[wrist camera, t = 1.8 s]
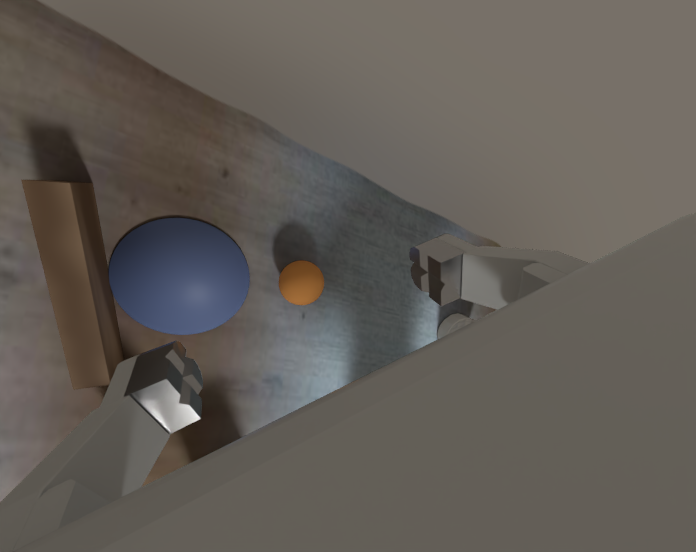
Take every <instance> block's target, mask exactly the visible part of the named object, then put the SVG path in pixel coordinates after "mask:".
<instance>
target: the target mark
mask: <svg viewBox="0 0 696 552" xmlns="http://www.w3.org/2000/svg"><path fill="white" fill-rule="evenodd" d="M109 283H110V286H111V290H112V292H113V295H114V297H115V299H116V300H117V302H118V304H119V305H120V306H121V307H122V309H123V310H124V311H125V312H126V313H127V314H128V315H129V316H130V317H132V318H133V319H134V320H136V321H137V322H139V323H141V324H142V325H144V326H146V327H148V328H151V329H153V330H156V331H160V332H163V333H169V334H178V335H186V334H196V333H201V332H205V331H208V330H211V329H214V328H216V327H218V326H220V325H222V324H223V323H225V322H226V321H228V320H229V319H230V318H231V317H232V316H233V315H234V314H235V313H236V312H237V311H238V310H239V309H240V307H241V306H242V304H243V302H244V300H245V298H246V295H247V293H248V288H249V269H248V265H247V262H246V260H245V257H244V255H243V253H242V252H241V250H240V249H239V247H238V246H237V245H236V243H235V242H234V241H233V240H232V239H231V238H230V237H228V236H227V235H226V234H225V233H223V232H222V231H220V230H219V229H217V228H215V227H213V226H211V225H209V224H207V223H204V222H201V221H197V220H192V219H186V218H166V219H159V220H156V221H152V222H149V223H147V224H144V225H142V226H140V227H138V228H136V229H135V230H133V231H132V232H130V233H129V234H128V235H127V236H125V237H124V239H123V240H122V241H121V242H120V243H119V244H118V246H117V247H116V249H115V251H114V253H113V255H112V257H111V261H110V265H109Z"/></svg>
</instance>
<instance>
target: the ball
mask: <svg viewBox="0 0 696 552" xmlns="http://www.w3.org/2000/svg"><path fill="white" fill-rule="evenodd" d="M279 288H280V291H281V293H282V295H283V297H284V298H285V299H286V300H288V301H289V302H291V303H293V304H296V305H307V304H310V303H312V302H314V301H315V300H316V299H318V297H319V296H320V295H321V293H322V291H323V288H324V277H323V274H322V272H321V271H320V269H319V268H318V267H317V266H316V265H315V264H313V263H311V262H309V261H304V260H299V261H294V262H292V263H290V264H288V265H287V266H286V267H285V268H284V269H283V271H282V272H281V274H280V277H279Z"/></svg>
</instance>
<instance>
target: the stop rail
mask: <svg viewBox="0 0 696 552" xmlns="http://www.w3.org/2000/svg"><path fill="white" fill-rule="evenodd" d="M22 184H23V188H24V192H25V196H26V201H27V205H28V209H29V213H30V217H31V221H32V225H33V229H34V233H35V237H36V241H37V245H38V249H39V253H40V257H41V261H42V265H43V269H44V273H45V277H46V281H47V285H48V289H49V293H50V297H51V301H52V305H53V309H54V313H55V317H56V321H57V325H58V329H59V333H60V337H61V342H62V346H63V350H64V354H65V358H66V362H67V366H68V370H69V374H70V378H71V382H72V386H73V390H75V389H82V388H90V387H97V386H104V385H109V384H110V382H111V379H112V377H113V375H114V372H115V370H116V367H117V365H118V364H119V363H120V362H122V361H124V356H123V351H122V345H121V339H120V334H119V328H118V323H117V317H116V311H115V306H114V300H113V295H112V290H111V286H110V283H109V272H108V267H107V261H106V255H105V250H104V244H103V239H102V233H101V227H100V222H99V216H98V211H97V205H96V199H95V194H94V188H93V183H85V182H71V181H57V180H22Z"/></svg>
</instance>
